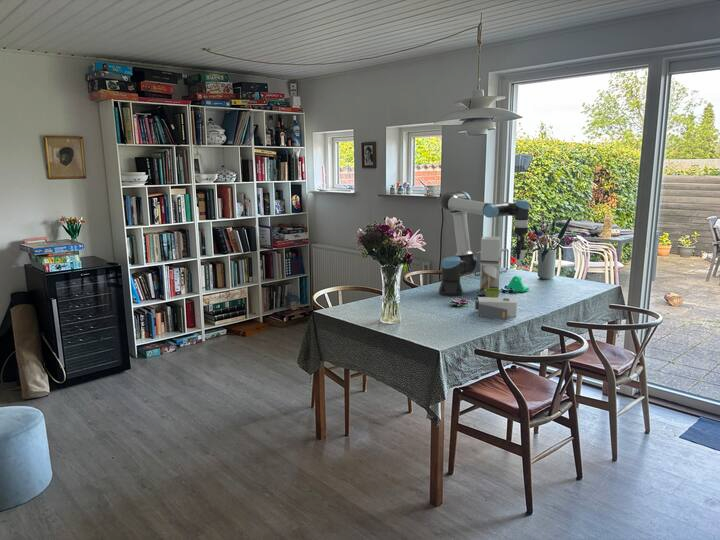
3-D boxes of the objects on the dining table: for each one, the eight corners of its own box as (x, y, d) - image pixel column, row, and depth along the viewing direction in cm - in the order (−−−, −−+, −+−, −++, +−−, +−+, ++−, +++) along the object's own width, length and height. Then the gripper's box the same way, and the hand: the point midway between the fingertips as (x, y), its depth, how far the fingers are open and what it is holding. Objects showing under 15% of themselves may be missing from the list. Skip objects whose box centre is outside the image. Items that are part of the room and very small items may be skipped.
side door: (477, 314, 297) (477, 304, 296) (479, 313, 299) (479, 303, 298) (505, 320, 286) (506, 309, 285) (507, 320, 287) (507, 309, 286)
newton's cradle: (486, 278, 390) (487, 253, 387) (474, 275, 397) (474, 252, 394) (507, 271, 411) (508, 248, 407) (495, 269, 418) (496, 247, 415)
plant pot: (493, 301, 328) (494, 287, 326) (503, 305, 319) (503, 290, 317) (480, 303, 324) (481, 289, 323) (489, 306, 316) (490, 292, 314)
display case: (479, 292, 349) (481, 238, 342) (481, 288, 359) (483, 236, 352) (497, 293, 346) (499, 239, 339) (498, 289, 356) (501, 237, 348)
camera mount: (529, 291, 352) (530, 275, 349) (523, 293, 346) (524, 277, 344) (513, 288, 360) (513, 273, 358) (506, 290, 355) (507, 274, 353)
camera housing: (475, 315, 299) (476, 300, 297) (474, 310, 309) (475, 295, 307) (515, 316, 296) (516, 301, 294) (513, 311, 306) (514, 296, 304)
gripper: (525, 229, 302) (523, 267, 306) (530, 224, 324) (529, 259, 328) (511, 229, 305) (509, 266, 309) (517, 224, 327) (516, 258, 331)
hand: (519, 262), depth 319 cm, fingers open, 13 cm apart
